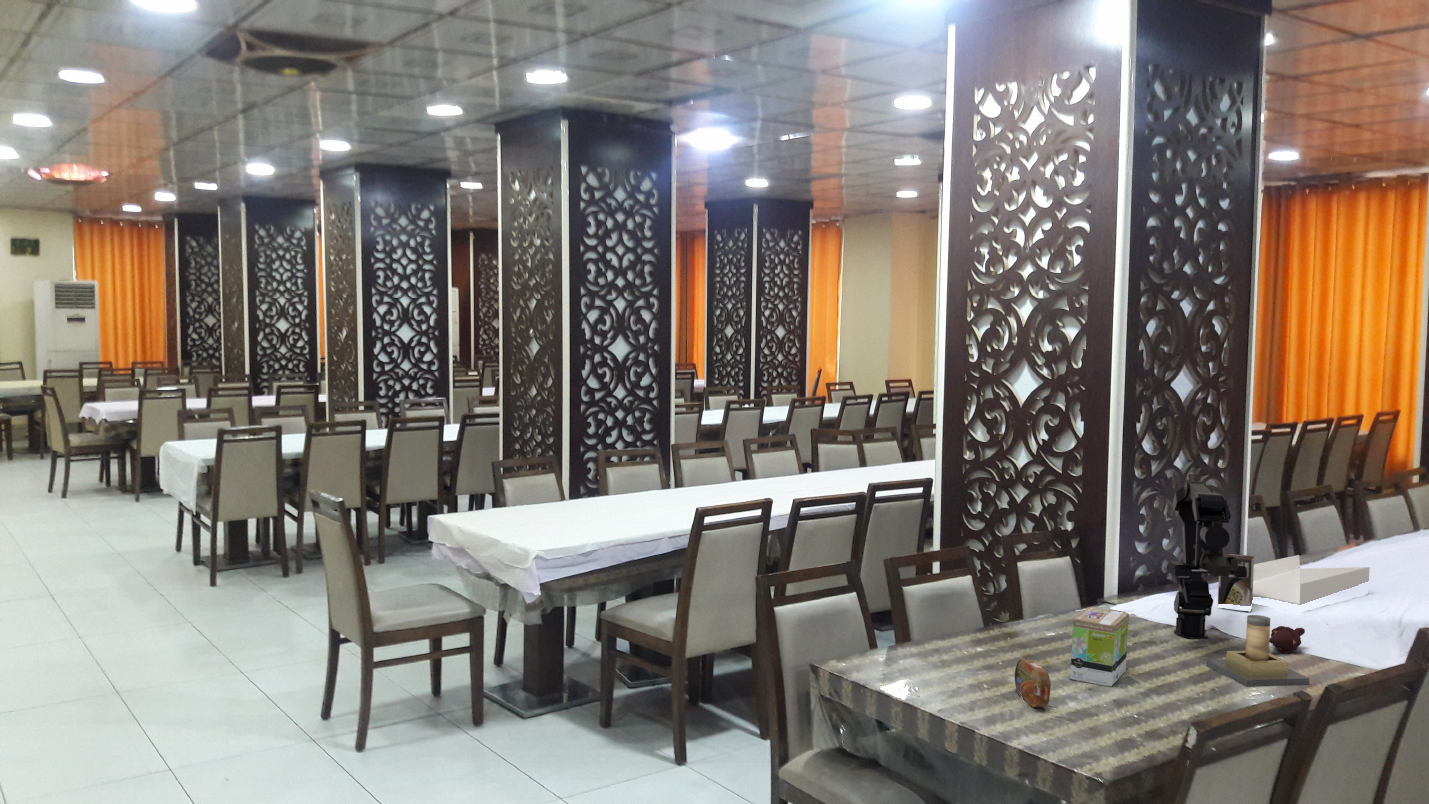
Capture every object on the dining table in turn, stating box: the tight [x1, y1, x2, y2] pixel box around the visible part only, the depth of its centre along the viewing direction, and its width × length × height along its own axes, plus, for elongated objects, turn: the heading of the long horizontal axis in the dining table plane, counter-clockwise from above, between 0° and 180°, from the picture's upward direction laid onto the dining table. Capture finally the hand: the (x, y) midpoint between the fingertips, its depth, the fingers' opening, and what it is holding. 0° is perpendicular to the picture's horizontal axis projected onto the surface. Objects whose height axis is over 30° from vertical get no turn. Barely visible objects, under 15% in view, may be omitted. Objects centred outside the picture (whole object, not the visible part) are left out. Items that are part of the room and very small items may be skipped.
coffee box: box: [1217, 552, 1255, 606], centre depth 327 cm, size 9×6×16 cm
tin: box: [1014, 658, 1052, 708], centre depth 240 cm, size 15×3×8 cm, turn 5°
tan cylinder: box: [1245, 614, 1271, 661], centre depth 262 cm, size 5×5×12 cm
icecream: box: [1269, 625, 1306, 654], centre depth 282 cm, size 7×7×15 cm
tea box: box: [1069, 606, 1130, 687], centre depth 259 cm, size 15×10×15 cm
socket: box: [1205, 650, 1310, 687], centre depth 262 cm, size 16×16×4 cm
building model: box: [1253, 554, 1370, 605], centre depth 345 cm, size 45×22×10 cm, turn 126°
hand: (1205, 602), depth 280 cm, fingers open, 9 cm apart
